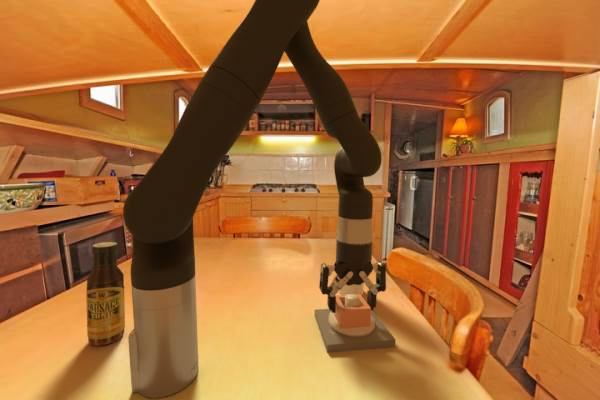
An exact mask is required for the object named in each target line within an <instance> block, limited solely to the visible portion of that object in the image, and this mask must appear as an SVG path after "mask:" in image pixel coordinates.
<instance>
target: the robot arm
mask: <svg viewBox="0 0 600 400" xmlns="http://www.w3.org/2000/svg"><path fill="white" fill-rule="evenodd" d="M319 2H320V0H254V2H253V5H252V6H251V8H250V9H249V11H248V12H247V14H246V16H245V17H244V18H243V20H242V21H241V23H240V24H239V25H238V26H237V28H236V29H235V30H234V32H233V33H232V34H231V36H230V37H229V38H228V39H227V40H226V43H225V44H223V47H222V48H221V49H220V51H219V53H218V54H217V55H216V57H215V58H214V59H213V61H212V62H211V64H210V65H209V67H208V69H207V70H206V72H205V74H204V75H203V76H202V78H201V80H200V81H199V83H198V84H197V86H196V88H195V90H194V92H193V93H192V96H191V97H190V99H189V101H188V102H187V104H186V107H185V109H184V110H183V113H182V115H181V117H180V119H179V121H178V123H177V126H176V128H175V130H174V132H173V134H172V136H171V139H170V140H169V142H168V144H167V145H166V147H165V148H164V150H163V151H162V152H161V154H160V155H159V156H158V158H157V159H156V160H155V162H154V163H153V164H152V166H151V167H150V169H149V170H148V171H147V172H146V173H145V175H144V176H143V177H142V178H141V180H140V181H139V182H138V183H137V184H136V186H134V188H133V189H132V190H131V191H130V192H129V193H128V195H127V197H126V198H125V200H124V202H123V208H122V217H123V222H124V224H125V227H126V228H127V230H128V232H129V233H130V234H131V236H132V252H131V253H132V255H131V263H130V284H131V298H132V301H131V303H132V313H133V314H132V317H133V329H132V330H131V332H130V333H128V338H127V339H128V352H129V367H130V370H129V371H130V385H131V392H132V393H139V394H140V395H142V396H145V397H147V398H153V399H157V398H158V399H159V398H164V397H167V396H168V397H169V396H171V395H173V394H176V393H179V392H180V391H182V390H183V389H185V388H186V387H188V386H189V384H191V383H192V382H193V381H194V380H195V379H196V376H197V374H198V372H199V349H198V348H199V346H198V345H199V342H198V339H199V338H198V315H197V314H198V313H197V311H198V310H197V307H198V306H197V290H196V289H197V283H196V282H197V280H196V279H197V278H196V257H195V254H196V253H195V240H194V239H195V238H194V237H195V236H194V216H195V213H196V212H197V209H198V206H199V204H200V203H201V200H202V198H203V195H204V193H205V191H206V189H207V187H208V185H209V182H210V181H211V178H212V176H213V175H214V173H215V171H216V169H217V168H218V166H219V165H220V163H221V162H222V160H223V159H224V158H225V156H227V154H228V153H229V151H230V150H231V149H232V147H233V146H234V145H235V143H236V142H237V140H238V139H239V137H240V136H241V135H242V133H243V132H244V130H245V128H246V126H247V125H248V124H249V122H250V121H251V119H252V117H253V116H254V113H255V112H256V110H257V109H258V107H259V105H260V103H261V102H262V99H263V98H264V96H265V94H266V92H267V90H268V87H269V86H270V84H271V81H272V80H273V78H274V76H275V74H276V71H277V69H278V67H279V64H280V62H281V60H282V57H283V55H284V54H285V55H286V56H287V58H288V60H289V61H290V63H291V65H292V66H293V68H294V69H295V71H296V73H297V74H298V76H299V78H300V80H301V81H302V83H303V85H304V87H305V90H306V91H307V93H308V95H309V97H310V99H311V101H312V104H313V106H314V108H315V111H316V113H317V115H318V117H319V119H320V122H321V125H322V126H323V128H324V131H325V132H326V134H327V135H328V136H329V137H331V138H333V139H336V140H337V142H338V143H339V145H340V148H339V149H338V150H337V152H336V154H335V156H334V165H333V167H334V168H333V169H334V176H335V177H334V178H335V183H336V189H337V193H338V208H337V209H338V211H337V213H338V214H337V215H338V216H337V223H336V224H337V225H336V233H335V237H336V238H335V239H336V241H335V243H336V244H335V247H336V249H335V262H334V264H326V263H325V262H324V263H321V264H320V272H319V273H320V275H319V286H318V288H319V290H320V292H321V294H322V295H326V296H327V304H326V305H327V309H329V310H331V312H332V313H335V312H336V296H335V295H338V294H337V293H339V290H341V289H342V288H343V287H344V285H345V284H346V285H347V286H348V285H353V284H355V285H361V284H362V283H363V282H364V285H365V286H366V287H367V289H368V290H367V294H366V302H367V304H368V305H369V306H370V308H371V311H372V310H373V311H374V310H375V308H376V307H377V297H378V296H377V295H378V293H380V292H385V291H386V290H387V268H386V267H387V266H386V265H384V263H382V262H381V261H376V262H375V263H372V257H373V238H374V237H373V234H374V225H373V206H374V196H373V193H372V192H371V191H370V190H369V189H367V188H366V186H365V180H364V178H368V177H372V176H374V175H375V174H377V172H378V171H379V170H380V169H381V165H382V157H383V156H382V151H381V147H380V145H379V144H378V141H377V140H376V138H375V136H373V134H372V132H371V131H370V130H369V128H368V127H367V125H366V124H365V123H364V121H363V120H362V119H361V118H360V116H359V114H358V111H357V109H356V105H355V102H354V101H353V99H352V98H353V97H352V96H351V93H350V90H349V88H348V87H347V85H346V83H345V81H344V79H343V78H342V77H341V75H340V74H339V72H338V71H336V70H335V68H334V67H333V66H332V65H331V64H330V63H329V62H328V61H327V60H326V59H325V58H324V56H323V55H322V53H320V51H319V50H318V47H317V45H316V44H315V41H314V39H313V36H312V34H311V30H310V28H309V23H308V21H309V19H310V18H311V16H312V15H313V13H314V12H315V11H316V9H317V8H318V5H319ZM373 271H374V273H375V284H374V283H373V282H372V281H371V279H370V278H369V276H370V275H371V273H372V272H373ZM333 272H335V274H336V275H334V277H333V279H332V281H331V283H330V284H329V277H331V275H332V274H333ZM328 284H329V285H328Z"/></svg>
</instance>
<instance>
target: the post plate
mask: <svg viewBox="0 0 600 400" xmlns="http://www.w3.org/2000/svg"><path fill="white" fill-rule="evenodd" d="M345 307H359V297H358V296H357V295H354V294H348V295H346V296H345ZM314 319H315V321H316V325H317V327H318V330H319V333H320V336H321V338H322V342H323V344H324V345H323V346H324V348H325V350H326V353H333V352H342V351H343V352H344V351H345V352H346V351H357V350H358V351H359V350H368V349H370V350H372V349H381V348H382V349H383V348H394V347H396V338H395V337H394V336H393V334H392V333H391V332H390V330H389V329H388V328H387V327H386V325H385V324H384V322H383V321H382V320H381V319H380V318H379V316H378V315H377V313H376V312H375V311H374V310H372V311H371V321H370V326H369V327H355V328H340V326H339V324H338V322H337V320H336V318H335V316H334V313H332V312H331V310H329V308H318V309H314Z"/></svg>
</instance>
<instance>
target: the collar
mask: <svg viewBox="0 0 600 400" xmlns="http://www.w3.org/2000/svg"><path fill="white" fill-rule="evenodd" d="M354 295H357V296H358V297H359V307H345V296H346V295H342V294H336V295H335V296H336V312H335V313H334V316H335V318H336V320H337V322H338V324H339V326H340V328H355V327H369V326H370V321H371V308H370V306H369V305H368V304H367V300H365V299H364V297H363V296H362V295H360V294H354Z"/></svg>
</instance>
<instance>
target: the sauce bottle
mask: <svg viewBox="0 0 600 400" xmlns="http://www.w3.org/2000/svg"><path fill="white" fill-rule="evenodd" d="M91 252H92V254H93V265H92V269H91V271H90V273H89V275H88V276H87V279H86V292H85V293H86V294H85V295H86V331H87V332H86V333H87V336H86V337H87V339H88V343H89V345H91V346H95V347H101V346H105V345H106V346H107V345H109V344H112V343H114V342H117V341H118V340H119V339H121V337H122V336H124V334H125V329H126V328H125V327H126V316H125V315H126V314H125V313H126V312H125V311H126V308H125V303H126V302H125V284H124V283H125V281H124V273H123V271H122V270H121V269H120V268H119V266H118V260H117V252H118V243H117V242H113V241H103V242H98V243H95V244H93V245H92V247H91Z"/></svg>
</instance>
